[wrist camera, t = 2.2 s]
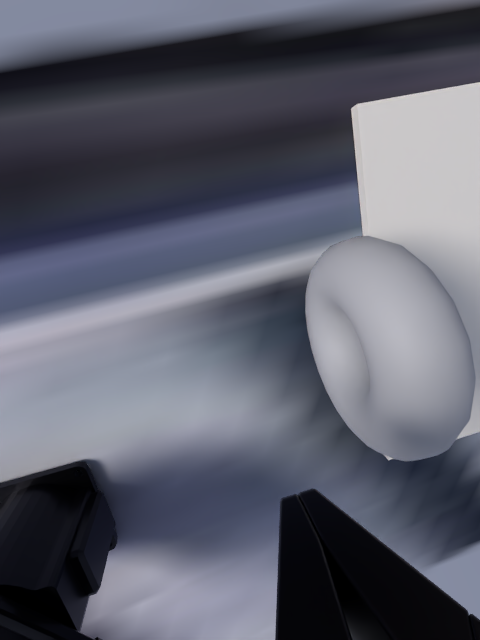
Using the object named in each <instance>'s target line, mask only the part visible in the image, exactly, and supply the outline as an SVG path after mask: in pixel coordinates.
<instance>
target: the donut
mask: <svg viewBox="0 0 480 640" xmlns="http://www.w3.org/2000/svg"><path fill="white" fill-rule="evenodd" d="M305 313H306V321H307V330H308V335H309V339H310V344H311V348H312V352H313V356H314V359H315V362H316V365H317V368H318V371H319V374H320V376H321V379H322V381H323V384H324V386H325V388H326V391H327V393H328V395H329V397H330V398H331V400H332V402H333V404H334V406H335V408H336V410H337V411H338V413H339V414H340V416H341V417H342V418H343V420H344V421H345V423H346V424H347V426H348V427H349V428H350V429H351V430H352V431H353V433H354V434H355V435H357V436H358V437H359V438H360V439H361V440H362V441H363V442H364V443H365V444H366V445H367V446H368V447H370V448H372V449H374V450H375V451H377V452H379V453H382V454H384V455H386V456H388V457H391V458H393V459H397V460H402V461H414V460H420V459H424V458H429V457H433V456H437V455H439V454H441V453H443V452H444V451H446V450H448V449H449V448H450V447H451V445H452V444H453V443H454V441H455V440H456V439H457V437H458V436H459V434H460V433H461V431H462V430H463V429H464V427H465V426H466V424H467V423H468V422H469V420H470V417H471V410H472V403H473V397H474V390H475V381H476V376H475V370H474V363H473V357H472V350H471V344H470V339H469V336H468V334H467V331H466V329H465V326H464V324H463V322H462V319H461V317H460V314H459V312H458V310H457V307H456V305H455V302H454V300H453V299H452V298H451V296H450V295H449V293H448V292H447V291H446V289H445V288H444V286H443V285H442V284H441V282H440V281H439V279H438V278H437V277H436V275H435V274H434V272H433V271H432V270H431V269H430V268H429V267H428V266H427V265H426V264H424V263H423V262H422V261H421V260H419V259H418V258H417V257H416V256H414V255H413V254H412V253H411V252H409V251H408V250H407V249H406V248H404V247H403V246H402V245H399V244H396V243H392V242H389V241H385V240H382V239H378V238H375V237H371V236H357V237H354V238H351V239H348V240H345V241H342V242H339V243H337V244H335V245H332V246H330V247H329V248H328V249H327V250H326V251H325V252H324V253H323V254H322V255H321V257H320V258H319V259H318V261H317V262H316V264H315V265H314V267H313V269H312V271H311V272H310V276H309V280H308V285H307V289H306V307H305Z"/></svg>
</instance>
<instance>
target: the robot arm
mask: <svg viewBox="0 0 480 640" xmlns="http://www.w3.org/2000/svg"><path fill="white" fill-rule="evenodd" d="M76 470H81V471H82V473H79V472H77V471H76ZM114 527H115V521H114V519H113V517H112V514H111V512H110V509H109V507H108V504H107V502H106V499H105V497H104V494H103V493H102V492H101V491H99V490H98V488H97V485H96V483H95V480H94V478H93V475H92V473H91V470H90V468H89V466H88V465H87V464H86V463H85V462H76V463H73V464H69V465H65V466H62V467H58V468H55V469H51V470H48V471H44V472H40V473H37V474H33V475H30V476H26V477H23V478H19V479H15V480H12V481H8V482H5V483H1V484H0V640H102V639H100V638H98V637H97V638H95V639H94V638H92V637H89V636H87V635H85V634H83V633H81V632H80V630H81V627H82V623H83V619H84V615H85V611H86V608H87V604H88V600H89V596H90V595H94V594H96V593H97V592H98V590H99V588H100V586H101V581H102V577H103V573H104V569H105V565H106V561H107V556H108V552H109V551H110V550H112V549H114V548H115V547H116V544H117V539H118V538H117V534H116V532H115V530H114ZM275 640H480V620H479V619H478V618H477V617H475V616H474V615H473V614H470V615H469V614H468V611H467V610H466V609H465V608H464V607H462V606H461V605H460V604H459V603H458V602H456V601H455V600H453V598H451V597H450V596H449V595H448V594H446V593H445V592H444V591H442V590H441V589H440V588H439V587H438V586H436V585H435V584H434V583H433V582H431V581H430V580H428V579H427V578H426V577H425V576H424V575H422V574H421V573H420V572H419V571H417V570H416V569H415V568H414V567H412V566H411V565H410V564H409V563H407V562H406V561H405V560H404V559H402V558H401V557H400V556H399V555H397V554H396V553H395V552H394V551H392V550H391V549H390V548H389V547H387V546H386V545H385V544H384V543H382V542H381V541H380V540H379V539H377V538H376V537H375V536H374V535H372V534H371V533H370V532H368V531H367V530H366V529H365V528H363V527H362V526H361V525H360V524H358V523H357V522H356V521H355V520H353V519H352V518H351V517H350V516H348V515H347V514H346V513H345V512H343V511H342V510H341V509H340V508H338V507H337V506H336V505H335V504H333V503H332V502H331V501H330V500H328V499H327V498H326V497H325V496H323V495H322V494H321V493H320V492H318V491H317V490H315V489H310V490H307V491H303V492H300V493H299V494H298V495H296V494H294V495H290V496H287V497H284V498H282V499H281V501H280V525H279V554H278V582H277V610H276V638H275Z"/></svg>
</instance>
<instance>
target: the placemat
mask: <svg viewBox="0 0 480 640" xmlns="http://www.w3.org/2000/svg"><path fill="white" fill-rule="evenodd" d="M351 113H352V123H353V134H354V145H355V155H356V166H357V177H358V187H359V198H360V209H361V219H362V230H363V236H371V237H375V238H378V239H382V240H385V241H389V242H392V243H396V244H399V245H402V246H403V247H404V248H406V249H407V250H408V251H409V252H411V253H412V254H413V255H414V256H416V257H417V258H418V259H419V260H421V261H422V262H423V263H424V264H426V265H427V266H428V267H429V268H430V269H431V270H432V271H433V272H434V274H435V275H436V277H437V278H438V279H439V281H440V282H441V284H442V285H443V286H444V288H445V289H446V291H447V292H448V293H449V295H450V296H451V298H452V299H453V300H454V302H455V305H456V307H457V310H458V312H459V314H460V317H461V319H462V322H463V324H464V326H465V329H466V331H467V334H468V336H469V339H470V344H471V350H472V357H473V363H474V370H475V376H476V381H475V390H474V397H473V403H472V410H471V417H470V420H469V422H468V423H467V424H466V426H465V427H464V429H463V430H462V431H461V433H460V434H459V436H458V437H457V439H458V438H462V437H465V436H468V435H471V434H474V433H478V432H480V82H478V83H473V84H467V85H461V86H456V87H450V88H445V89H439V90H433V91H428V92H422V93H417V94H411V95H405V96H400V97H394V98H389V99H383V100H377V101H372V102H366V103H361V104H357V105H355V106H354V107H353V108H351ZM384 456H385V457H386V458H387V459H388V460H391V459H393V458H391V457H388V456H386V455H384Z"/></svg>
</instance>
